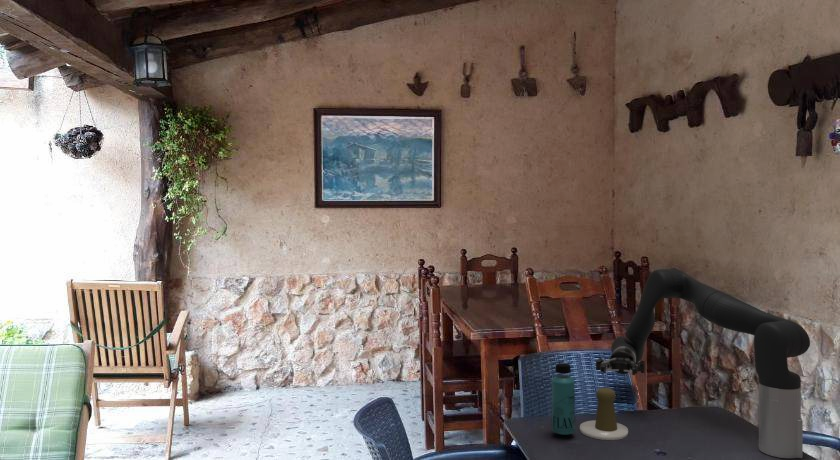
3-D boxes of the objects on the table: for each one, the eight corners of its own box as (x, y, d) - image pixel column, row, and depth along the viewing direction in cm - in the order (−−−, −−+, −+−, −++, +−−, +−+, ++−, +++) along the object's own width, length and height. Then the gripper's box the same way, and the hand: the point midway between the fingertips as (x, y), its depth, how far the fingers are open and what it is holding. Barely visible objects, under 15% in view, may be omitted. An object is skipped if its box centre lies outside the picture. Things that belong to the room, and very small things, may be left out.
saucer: (630, 426, 174) (630, 423, 174) (626, 442, 163) (626, 439, 162) (583, 421, 180) (583, 418, 180) (576, 436, 168) (576, 432, 168)
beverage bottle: (548, 438, 167) (547, 365, 166) (555, 430, 173) (554, 360, 172) (572, 441, 164) (571, 368, 163) (578, 433, 170) (577, 362, 169)
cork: (617, 432, 167) (616, 393, 167) (594, 430, 169) (593, 391, 169) (617, 424, 173) (617, 386, 173) (595, 422, 175) (595, 385, 175)
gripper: (600, 346, 199) (593, 356, 184) (646, 349, 193) (643, 359, 178) (600, 369, 199) (594, 381, 184) (646, 372, 193) (644, 385, 178)
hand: (618, 370), depth 181 cm, fingers open, 8 cm apart
